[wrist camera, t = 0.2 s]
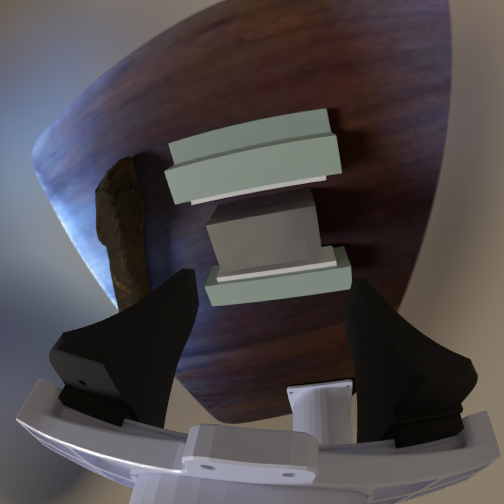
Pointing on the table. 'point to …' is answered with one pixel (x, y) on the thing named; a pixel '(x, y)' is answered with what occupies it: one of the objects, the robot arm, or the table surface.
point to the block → (265, 230)
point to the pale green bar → (253, 157)
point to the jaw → (281, 279)
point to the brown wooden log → (123, 231)
